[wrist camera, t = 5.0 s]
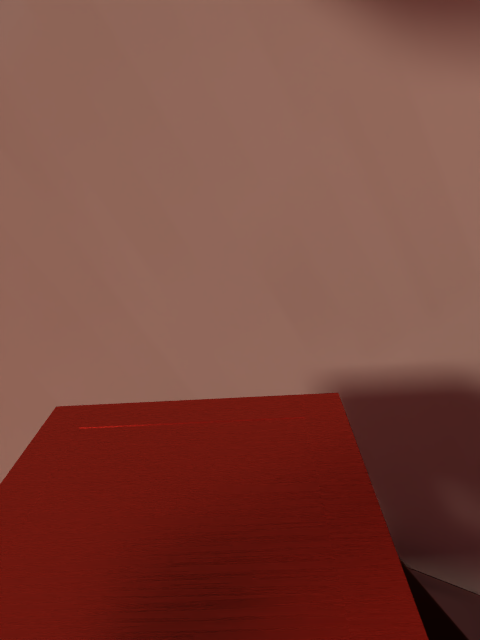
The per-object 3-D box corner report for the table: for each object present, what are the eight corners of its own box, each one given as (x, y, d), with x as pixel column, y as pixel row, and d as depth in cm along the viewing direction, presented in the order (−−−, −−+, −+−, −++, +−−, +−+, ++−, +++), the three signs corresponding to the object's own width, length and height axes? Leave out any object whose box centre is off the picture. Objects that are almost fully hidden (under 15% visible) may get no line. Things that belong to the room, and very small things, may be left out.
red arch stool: (338, 392, 9) (484, 792, 3) (334, 563, 11) (425, 998, 5) (55, 405, 9) (-231, 803, 4) (100, 571, 11) (-45, 997, 6)
